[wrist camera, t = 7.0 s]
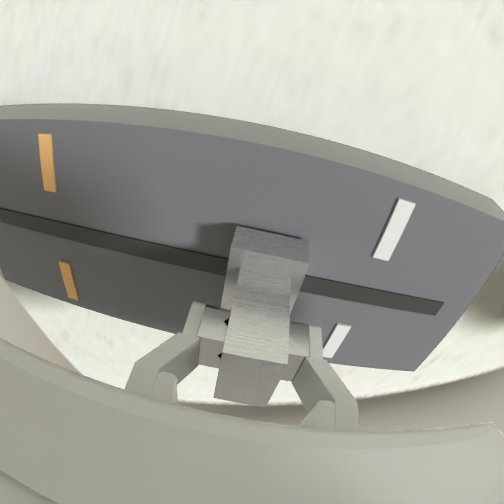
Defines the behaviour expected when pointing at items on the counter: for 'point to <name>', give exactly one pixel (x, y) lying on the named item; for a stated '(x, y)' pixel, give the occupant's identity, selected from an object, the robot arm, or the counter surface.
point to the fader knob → (259, 313)
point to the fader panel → (237, 224)
